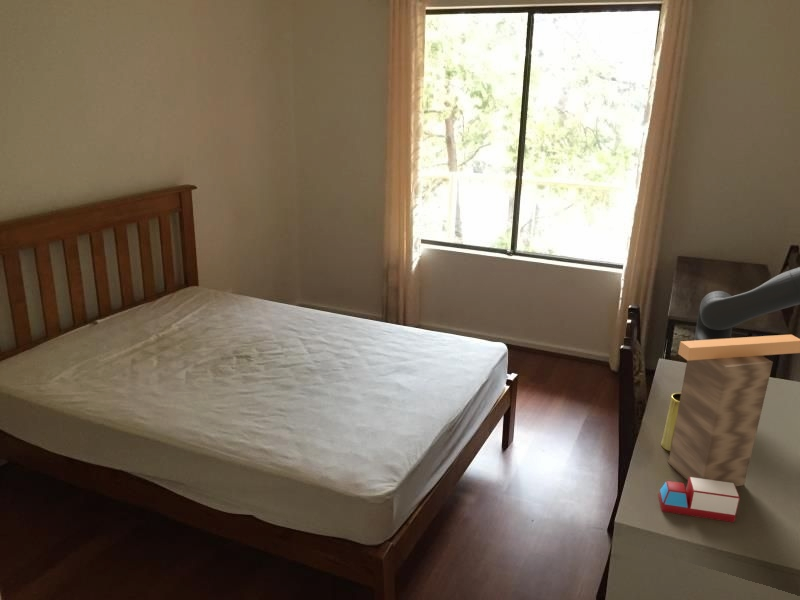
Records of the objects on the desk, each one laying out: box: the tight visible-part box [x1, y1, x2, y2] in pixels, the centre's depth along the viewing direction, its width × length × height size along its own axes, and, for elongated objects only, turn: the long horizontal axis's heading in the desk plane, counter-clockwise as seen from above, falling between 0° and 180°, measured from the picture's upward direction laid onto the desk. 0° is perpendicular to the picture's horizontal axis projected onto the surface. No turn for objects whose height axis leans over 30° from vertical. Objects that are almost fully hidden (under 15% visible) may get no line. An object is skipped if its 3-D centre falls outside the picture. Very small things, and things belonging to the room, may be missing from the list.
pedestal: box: [668, 355, 774, 487], centre depth 154 cm, size 12×12×32 cm
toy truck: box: [658, 477, 741, 523], centre depth 146 cm, size 6×15×7 cm, turn 77°
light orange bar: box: [677, 333, 800, 362], centre depth 148 cm, size 28×4×3 cm, turn 100°
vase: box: [660, 392, 681, 452], centre depth 168 cm, size 6×6×14 cm
